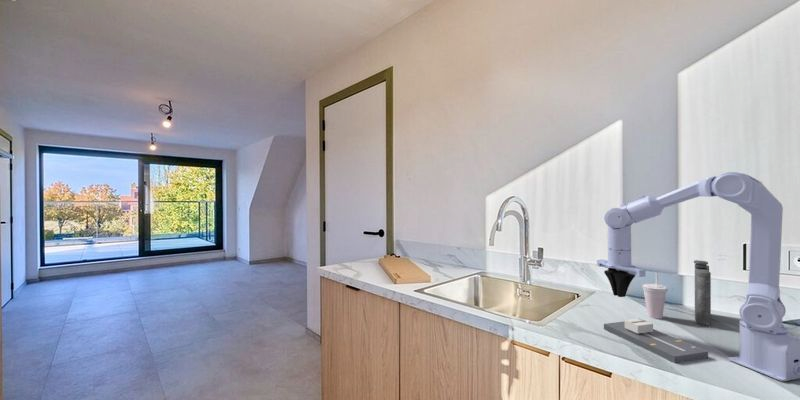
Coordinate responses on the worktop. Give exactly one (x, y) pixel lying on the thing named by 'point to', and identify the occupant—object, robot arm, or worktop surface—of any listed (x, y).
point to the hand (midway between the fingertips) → (619, 295)
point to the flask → (702, 293)
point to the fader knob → (638, 326)
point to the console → (659, 343)
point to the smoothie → (655, 299)
